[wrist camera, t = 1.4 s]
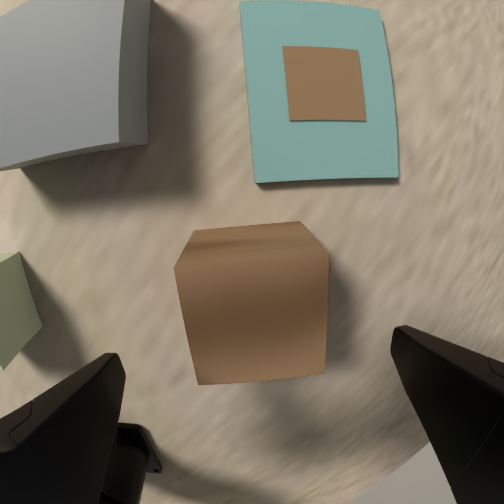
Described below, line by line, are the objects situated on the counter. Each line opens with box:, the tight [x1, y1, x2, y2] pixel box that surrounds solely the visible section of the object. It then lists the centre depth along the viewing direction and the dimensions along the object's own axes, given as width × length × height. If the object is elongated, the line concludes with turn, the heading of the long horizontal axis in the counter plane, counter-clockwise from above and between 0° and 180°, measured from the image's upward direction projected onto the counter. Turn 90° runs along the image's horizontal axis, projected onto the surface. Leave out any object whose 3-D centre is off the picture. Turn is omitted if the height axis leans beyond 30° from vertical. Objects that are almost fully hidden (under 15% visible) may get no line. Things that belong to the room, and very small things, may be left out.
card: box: [240, 0, 399, 183], centre depth 12 cm, size 9×7×1 cm
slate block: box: [0, 0, 152, 171], centre depth 10 cm, size 8×8×4 cm
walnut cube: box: [174, 221, 329, 385], centre depth 13 cm, size 5×5×5 cm
